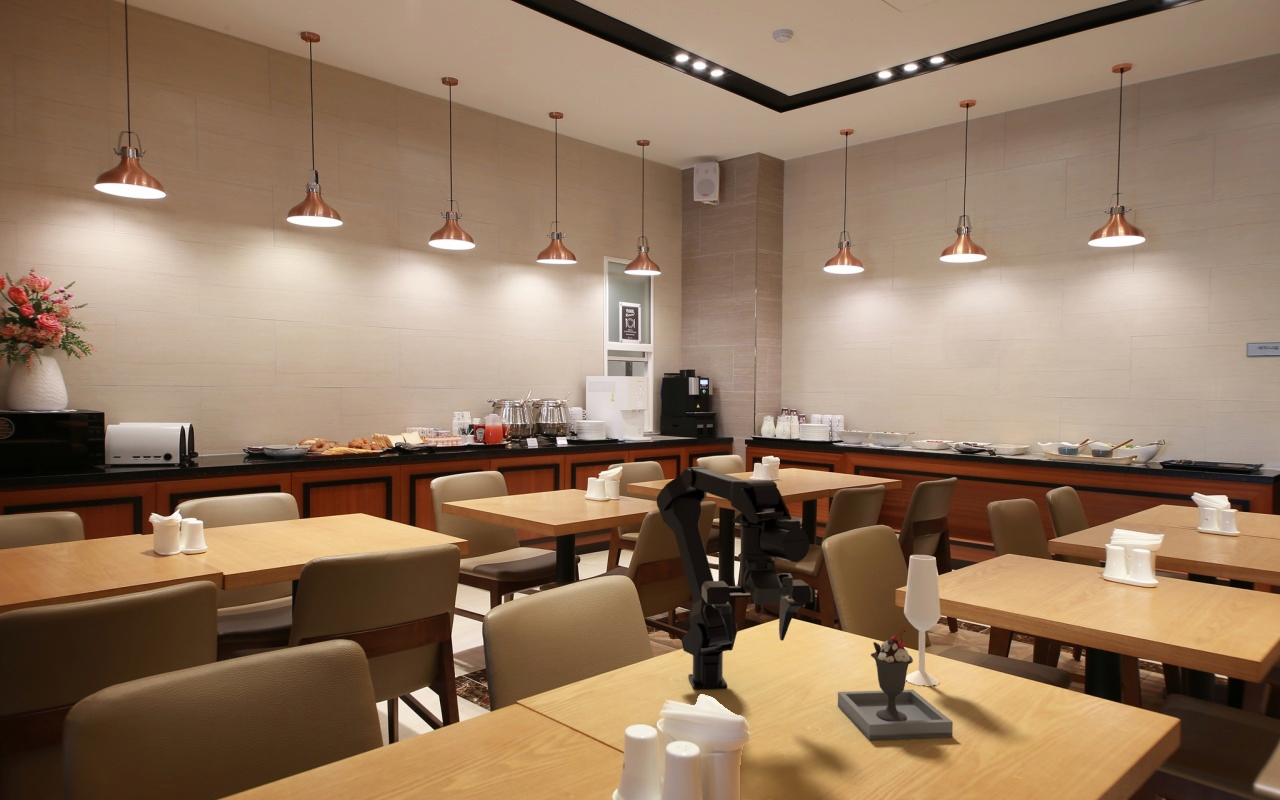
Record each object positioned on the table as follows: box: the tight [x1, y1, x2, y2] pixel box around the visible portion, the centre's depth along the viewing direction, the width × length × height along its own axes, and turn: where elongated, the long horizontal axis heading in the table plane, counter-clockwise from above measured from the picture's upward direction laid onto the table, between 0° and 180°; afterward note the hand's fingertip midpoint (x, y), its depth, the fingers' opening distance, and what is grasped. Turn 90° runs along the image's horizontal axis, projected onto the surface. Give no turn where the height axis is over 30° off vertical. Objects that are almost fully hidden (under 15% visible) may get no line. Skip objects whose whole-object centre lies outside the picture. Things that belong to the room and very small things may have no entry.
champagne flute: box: [903, 554, 942, 686], centre depth 151 cm, size 7×7×24 cm
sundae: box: [870, 628, 914, 721], centre depth 132 cm, size 7×7×15 cm
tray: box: [837, 689, 954, 741], centre depth 132 cm, size 14×14×2 cm
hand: (756, 640), depth 137 cm, fingers open, 9 cm apart
